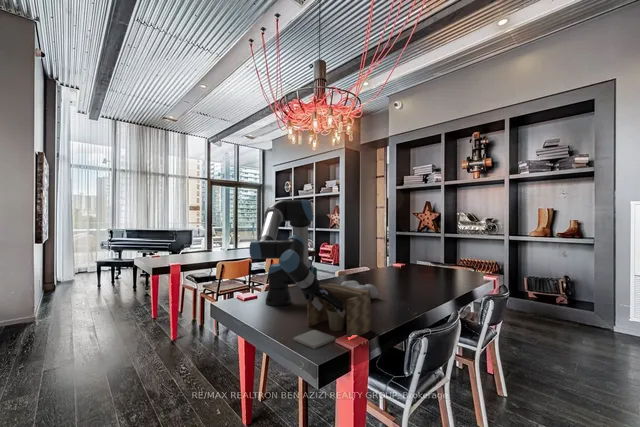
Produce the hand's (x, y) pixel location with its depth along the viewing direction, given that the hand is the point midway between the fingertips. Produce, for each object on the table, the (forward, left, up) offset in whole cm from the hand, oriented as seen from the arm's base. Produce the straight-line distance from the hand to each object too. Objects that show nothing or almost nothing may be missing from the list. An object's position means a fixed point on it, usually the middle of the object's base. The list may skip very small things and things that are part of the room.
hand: (332, 311), depth 124 cm
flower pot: (+2, +3, -9) cm, 10 cm away
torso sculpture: (+25, +60, -9) cm, 65 cm away
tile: (-9, -8, -9) cm, 15 cm away
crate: (+3, +3, -9) cm, 10 cm away
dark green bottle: (-5, +75, -9) cm, 75 cm away
